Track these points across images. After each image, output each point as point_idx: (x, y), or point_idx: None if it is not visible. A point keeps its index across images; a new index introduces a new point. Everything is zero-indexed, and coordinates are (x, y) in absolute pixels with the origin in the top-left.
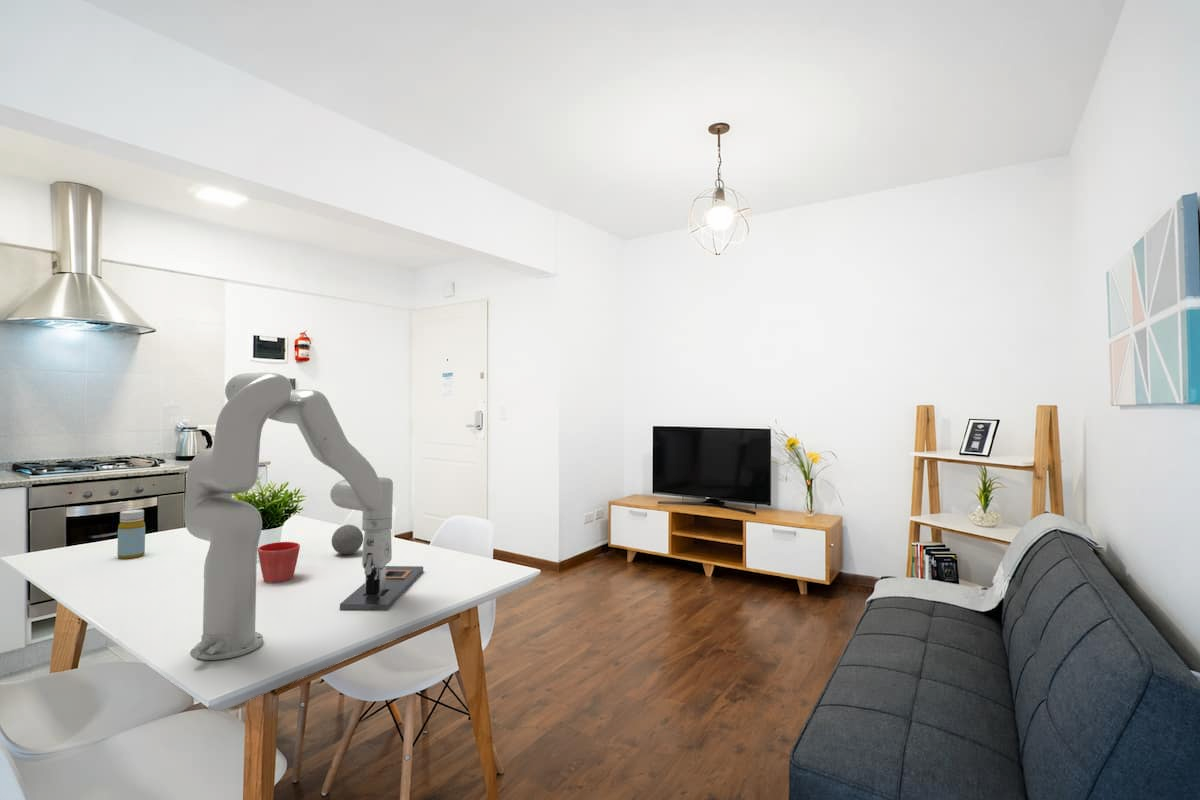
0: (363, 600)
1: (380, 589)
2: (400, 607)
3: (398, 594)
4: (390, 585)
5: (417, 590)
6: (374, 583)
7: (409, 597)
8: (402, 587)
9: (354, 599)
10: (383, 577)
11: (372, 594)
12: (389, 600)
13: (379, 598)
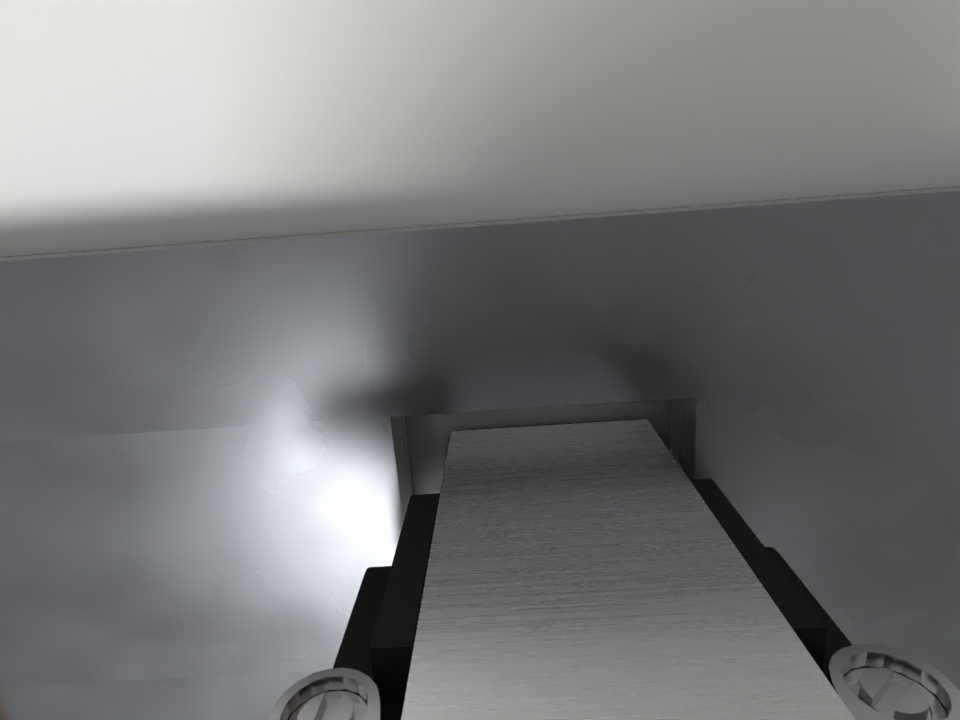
0: (873, 571)
1: (689, 484)
2: (907, 35)
3: (530, 220)
4: (219, 470)
5: (140, 59)
6: (836, 634)
7: (469, 65)
8: (271, 257)
9: None
10: (571, 598)
11: None
12: (906, 222)
13: (805, 403)
